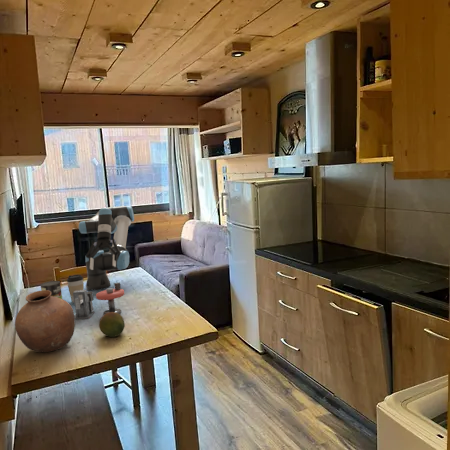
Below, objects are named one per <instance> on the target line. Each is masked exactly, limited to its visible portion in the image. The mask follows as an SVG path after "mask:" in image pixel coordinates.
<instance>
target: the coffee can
mask: <svg viewBox="0 0 450 450" xmlns="http://www.w3.org/2000/svg"><path fill="white" fill-rule="evenodd" d="M42 290H49V291H50V292H51V296H53V297H58V298H61V299H63V294H62V286H61V280H60V281H59V280H51V281H45V282H42V283H40V291H42Z"/></svg>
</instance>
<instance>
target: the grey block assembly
mask: <svg viewBox="0 0 450 450" xmlns="http://www.w3.org/2000/svg"><path fill="white" fill-rule="evenodd" d="M87 292H88V290H87V289H84V290H76V291H74V292H73V297H74V302H73V303H74V318H75V320H85V319H88V320H89V319H90V318H91V317H92V316H93V315H94V314H95V311H94V305H93V301H92V300H89V301H88V296H87ZM79 295H82V296H83V304H84V306H83V307H82V308H81V309H76V303H75V298H79Z"/></svg>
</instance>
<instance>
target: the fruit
mask: <svg viewBox="0 0 450 450" xmlns="http://www.w3.org/2000/svg"><path fill="white" fill-rule="evenodd" d="M98 327H99V330H100V332H101V334H103V335H105V336H107V337H110V338H113V337H114V338H115V337H119V336H120V335H121V334H123V331H124V330H125V328H126V326H125V320H124V318H123V316H122V315H121V313H120V314H118V313H116V312H109V313H106V314H105V315H104V314H103V315H102V317H101V318H100V320H99V322H98Z"/></svg>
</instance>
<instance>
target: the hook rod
mask: <svg viewBox="0 0 450 450" xmlns="http://www.w3.org/2000/svg"><path fill="white" fill-rule="evenodd" d="M93 291H94V290H89V291H87V296H88V301H89V300H92V302H94V293H93ZM75 303H76V309H81V308H82V307H83V306H84V304H83V299H82V300H81V301H80V298H75Z"/></svg>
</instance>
